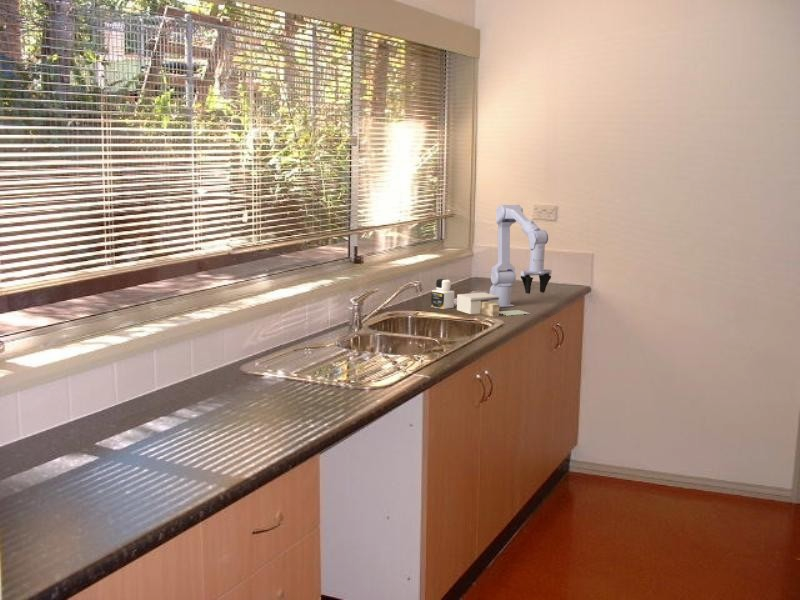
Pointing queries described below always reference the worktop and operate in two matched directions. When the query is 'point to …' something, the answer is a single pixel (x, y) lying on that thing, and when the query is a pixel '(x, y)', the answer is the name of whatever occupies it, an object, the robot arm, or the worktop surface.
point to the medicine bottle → (442, 295)
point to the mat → (513, 312)
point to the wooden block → (489, 308)
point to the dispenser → (474, 301)
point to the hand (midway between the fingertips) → (535, 292)
